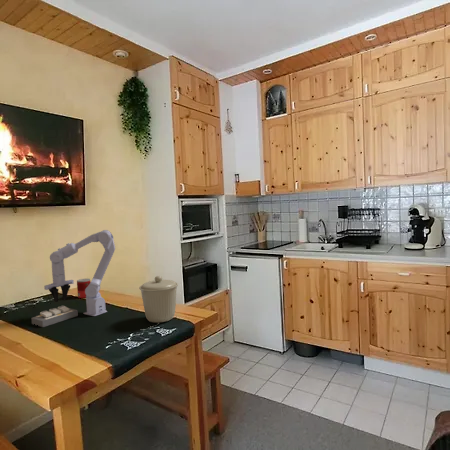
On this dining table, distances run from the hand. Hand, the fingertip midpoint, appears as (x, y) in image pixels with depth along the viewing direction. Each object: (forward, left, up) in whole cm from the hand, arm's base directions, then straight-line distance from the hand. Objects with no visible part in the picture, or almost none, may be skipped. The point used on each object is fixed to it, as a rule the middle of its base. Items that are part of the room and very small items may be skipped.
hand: (60, 300), depth 172 cm
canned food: (+24, -30, -9) cm, 39 cm away
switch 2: (-2, +4, -4) cm, 7 cm away
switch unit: (-2, +4, -8) cm, 10 cm away
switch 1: (-2, +9, -4) cm, 10 cm away
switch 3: (-2, 0, -4) cm, 5 cm away
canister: (-51, -20, -9) cm, 55 cm away
